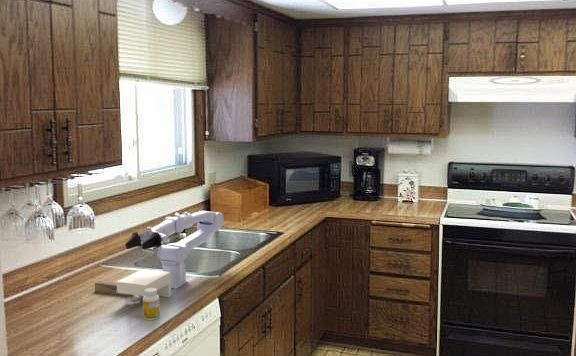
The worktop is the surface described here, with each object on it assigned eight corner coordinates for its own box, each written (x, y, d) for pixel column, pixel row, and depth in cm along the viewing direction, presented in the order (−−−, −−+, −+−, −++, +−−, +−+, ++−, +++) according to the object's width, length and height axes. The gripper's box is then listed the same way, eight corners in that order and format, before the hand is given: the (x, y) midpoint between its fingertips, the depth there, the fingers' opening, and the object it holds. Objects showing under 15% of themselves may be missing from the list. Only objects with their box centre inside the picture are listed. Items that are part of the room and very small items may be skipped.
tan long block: (100, 289, 222) (99, 280, 222) (135, 294, 217) (135, 284, 217) (95, 292, 219) (94, 282, 219) (130, 296, 214) (130, 287, 214)
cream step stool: (142, 292, 218) (141, 268, 217) (171, 295, 214) (170, 272, 213) (116, 306, 203) (115, 281, 202) (147, 310, 199) (146, 285, 198)
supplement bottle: (142, 316, 194) (141, 288, 193) (158, 313, 197) (157, 286, 195) (144, 321, 190) (143, 293, 188) (161, 319, 192) (160, 290, 190)
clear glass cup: (130, 301, 209) (130, 296, 209) (142, 302, 207) (142, 297, 207) (122, 305, 204) (122, 300, 204) (134, 307, 203) (134, 302, 203)
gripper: (142, 222, 220) (117, 235, 208) (171, 222, 213) (147, 236, 201) (146, 240, 222) (121, 254, 210) (175, 240, 215) (152, 254, 203)
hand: (134, 246), depth 206 cm, fingers open, 7 cm apart
